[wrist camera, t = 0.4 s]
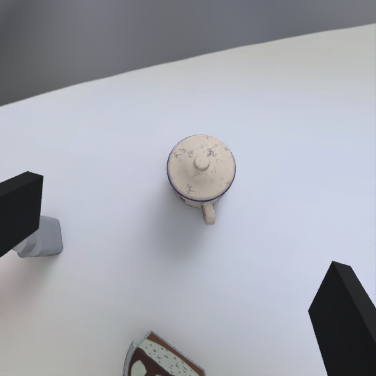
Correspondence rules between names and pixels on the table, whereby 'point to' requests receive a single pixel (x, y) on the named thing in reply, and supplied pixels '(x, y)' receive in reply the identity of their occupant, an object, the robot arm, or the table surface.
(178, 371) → the food container
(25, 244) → the power adapter
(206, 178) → the teacup with lid
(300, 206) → the table surface
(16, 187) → the robot arm
